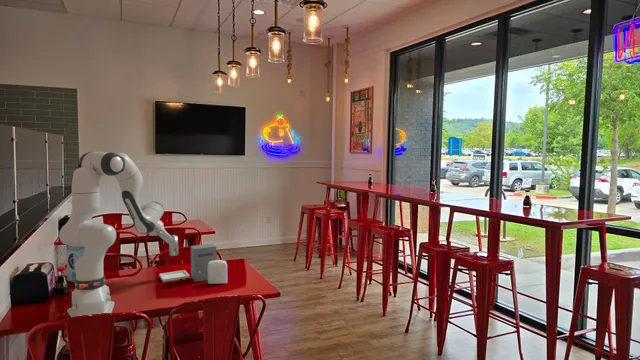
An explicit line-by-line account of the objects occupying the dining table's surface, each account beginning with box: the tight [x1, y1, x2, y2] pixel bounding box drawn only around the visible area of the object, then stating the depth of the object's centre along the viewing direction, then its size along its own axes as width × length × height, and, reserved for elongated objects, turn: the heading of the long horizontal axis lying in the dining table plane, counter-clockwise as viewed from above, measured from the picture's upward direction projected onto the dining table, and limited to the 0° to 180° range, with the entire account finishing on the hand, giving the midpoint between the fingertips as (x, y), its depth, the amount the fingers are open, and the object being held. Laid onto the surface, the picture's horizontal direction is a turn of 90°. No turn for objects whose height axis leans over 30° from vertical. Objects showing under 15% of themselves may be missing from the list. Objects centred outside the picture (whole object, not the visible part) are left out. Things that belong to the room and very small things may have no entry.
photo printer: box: [207, 259, 228, 285], centre depth 230 cm, size 10×4×12 cm, turn 98°
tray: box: [158, 269, 191, 283], centre depth 241 cm, size 12×14×2 cm
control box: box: [190, 243, 218, 283], centre depth 239 cm, size 9×12×18 cm
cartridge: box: [168, 234, 179, 257], centre depth 240 cm, size 5×5×11 cm
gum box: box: [65, 244, 85, 283], centre depth 233 cm, size 20×5×23 cm, turn 66°
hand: (174, 243), depth 240 cm, fingers closed on cartridge, 5 cm apart
